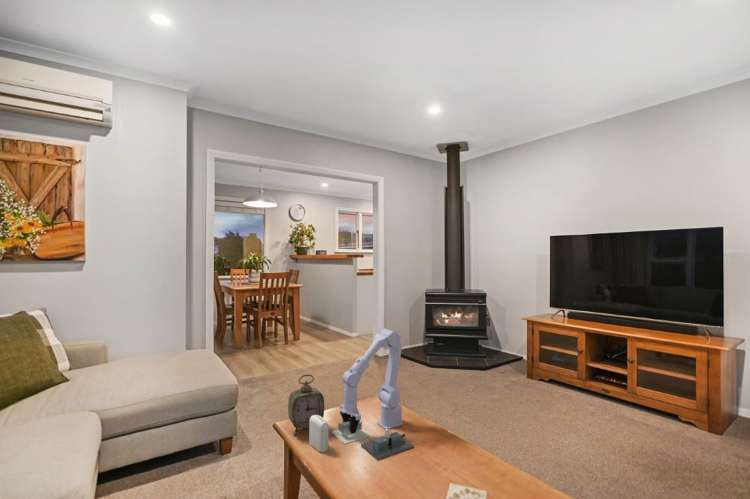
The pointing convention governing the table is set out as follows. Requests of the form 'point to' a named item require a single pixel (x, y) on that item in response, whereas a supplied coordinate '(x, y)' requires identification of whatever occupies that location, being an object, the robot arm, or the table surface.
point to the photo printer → (318, 433)
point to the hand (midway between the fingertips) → (350, 430)
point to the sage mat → (350, 436)
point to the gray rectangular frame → (347, 427)
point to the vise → (387, 445)
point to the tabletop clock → (305, 405)
